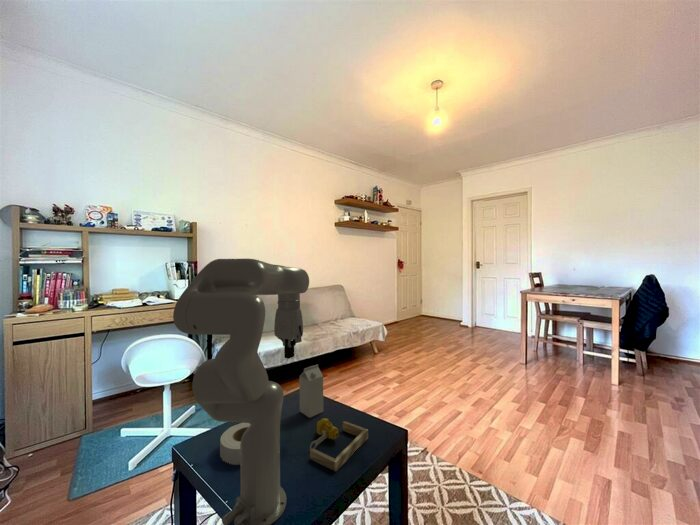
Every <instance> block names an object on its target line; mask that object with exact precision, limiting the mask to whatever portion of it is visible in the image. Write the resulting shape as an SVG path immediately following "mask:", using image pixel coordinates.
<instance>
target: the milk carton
mask: <svg viewBox="0 0 700 525" xmlns="http://www.w3.org/2000/svg"><path fill="white" fill-rule="evenodd" d="M299 412H300V413H301V414H303V415H304V416H306V417H307V418H308V419H310V418H313V417H315V416H317V415H319V414H321V413H323V412H324V375H323V373H322V371H321V369H320V367H319V364H315V365H311V366H307V367H305V368H303V371H302V373H301V374H299Z"/></svg>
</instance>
